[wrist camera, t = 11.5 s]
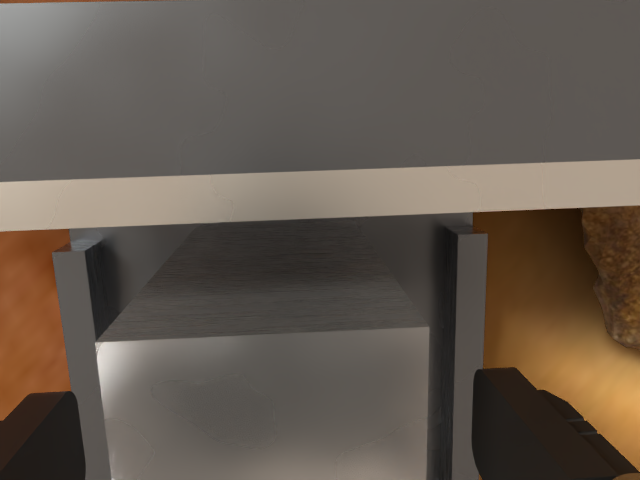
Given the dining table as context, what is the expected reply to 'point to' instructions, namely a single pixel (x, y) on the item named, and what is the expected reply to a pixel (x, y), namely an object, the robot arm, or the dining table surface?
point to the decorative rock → (616, 267)
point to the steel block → (268, 362)
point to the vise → (310, 148)
